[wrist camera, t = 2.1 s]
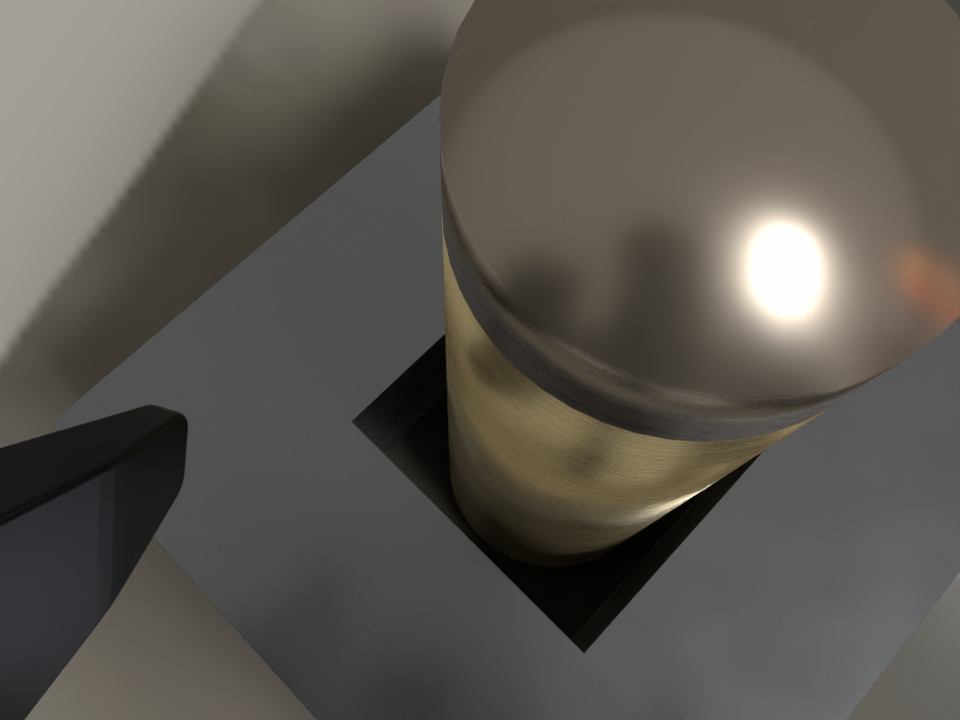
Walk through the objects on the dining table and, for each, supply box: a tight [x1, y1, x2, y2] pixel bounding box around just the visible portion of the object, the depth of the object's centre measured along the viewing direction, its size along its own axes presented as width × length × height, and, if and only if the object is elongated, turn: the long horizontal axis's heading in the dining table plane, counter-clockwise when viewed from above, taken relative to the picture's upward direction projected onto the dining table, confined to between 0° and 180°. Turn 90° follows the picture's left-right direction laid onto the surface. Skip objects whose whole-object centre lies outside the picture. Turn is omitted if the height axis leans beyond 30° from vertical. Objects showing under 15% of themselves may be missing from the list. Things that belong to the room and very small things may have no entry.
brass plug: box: [439, 0, 960, 567], centre depth 14 cm, size 5×5×14 cm
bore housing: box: [51, 95, 960, 720], centre depth 19 cm, size 14×14×4 cm
